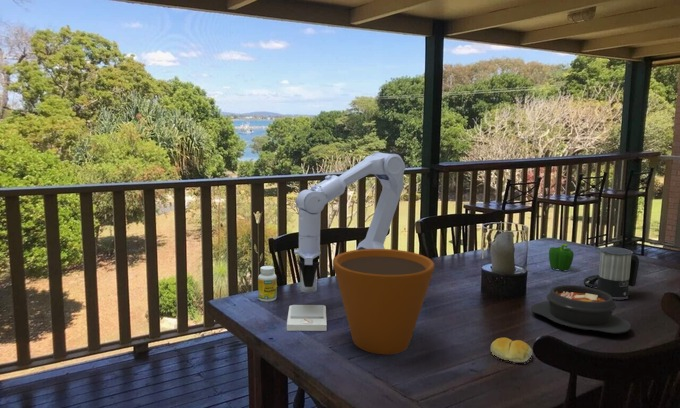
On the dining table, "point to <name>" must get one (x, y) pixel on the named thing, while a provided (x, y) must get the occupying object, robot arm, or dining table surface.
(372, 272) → the flower pot
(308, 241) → the robot arm
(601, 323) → the casserole
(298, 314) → the scale
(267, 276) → the supplement bottle
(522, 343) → the bread roll
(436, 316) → the dining table surface
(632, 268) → the milk frother
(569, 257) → the bell pepper
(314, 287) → the cylinder
